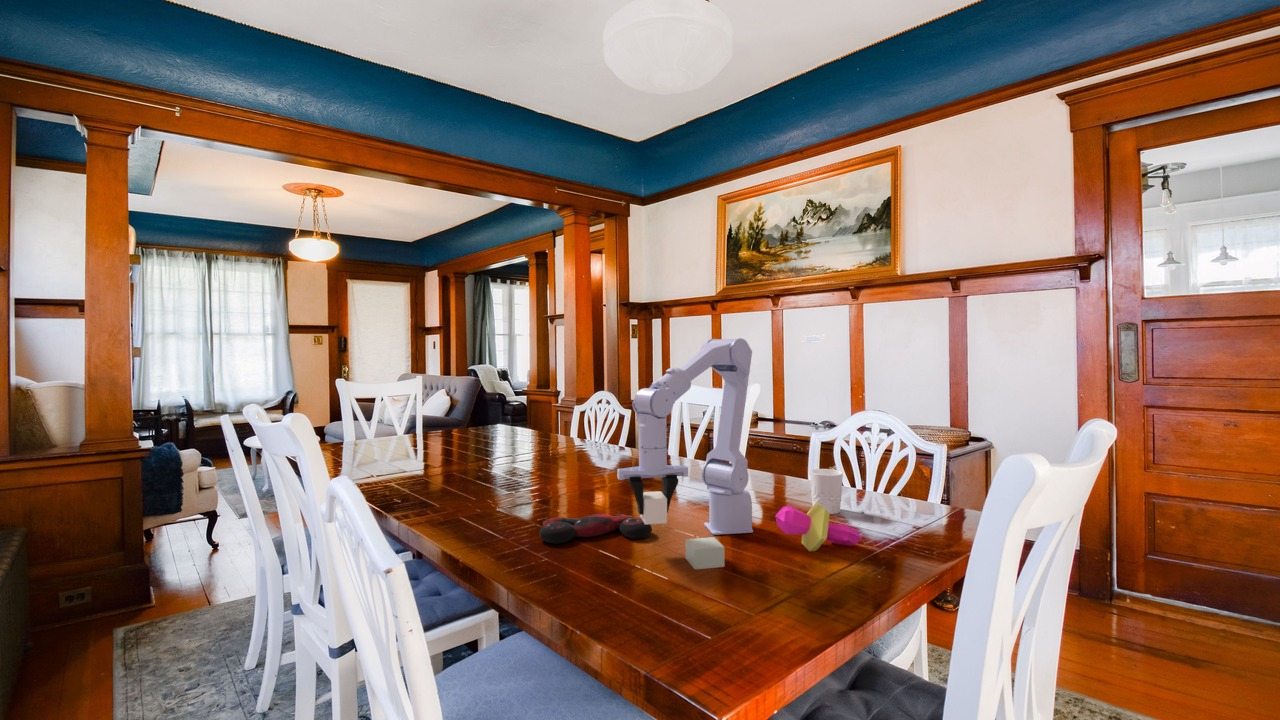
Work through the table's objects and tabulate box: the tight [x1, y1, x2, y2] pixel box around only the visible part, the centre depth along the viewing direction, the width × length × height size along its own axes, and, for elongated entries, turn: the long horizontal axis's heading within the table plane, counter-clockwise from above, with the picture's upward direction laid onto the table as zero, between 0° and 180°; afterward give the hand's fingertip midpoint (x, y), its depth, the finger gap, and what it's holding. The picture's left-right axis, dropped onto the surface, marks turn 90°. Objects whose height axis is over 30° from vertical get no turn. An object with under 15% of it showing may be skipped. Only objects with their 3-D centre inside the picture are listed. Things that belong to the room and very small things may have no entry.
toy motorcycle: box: [539, 513, 653, 545], centre depth 134 cm, size 25×5×16 cm
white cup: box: [810, 468, 843, 515], centre depth 149 cm, size 8×8×10 cm
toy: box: [775, 503, 863, 552], centre depth 122 cm, size 10×18×10 cm, turn 92°
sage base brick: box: [685, 536, 725, 570], centre depth 115 cm, size 6×6×4 cm
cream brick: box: [639, 490, 668, 525], centre depth 120 cm, size 4×6×5 cm
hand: (653, 512), depth 120 cm, fingers closed on cream brick, 4 cm apart
